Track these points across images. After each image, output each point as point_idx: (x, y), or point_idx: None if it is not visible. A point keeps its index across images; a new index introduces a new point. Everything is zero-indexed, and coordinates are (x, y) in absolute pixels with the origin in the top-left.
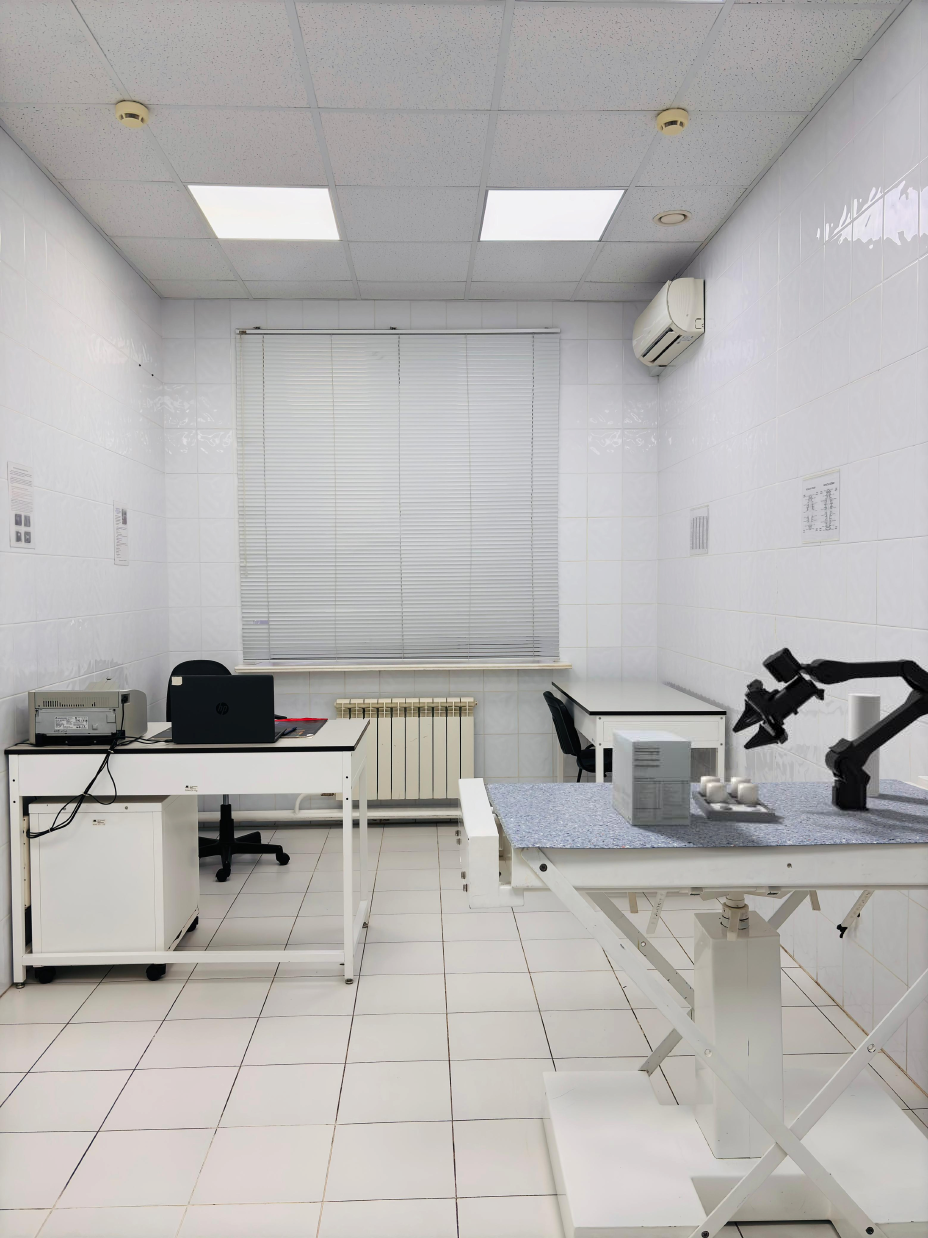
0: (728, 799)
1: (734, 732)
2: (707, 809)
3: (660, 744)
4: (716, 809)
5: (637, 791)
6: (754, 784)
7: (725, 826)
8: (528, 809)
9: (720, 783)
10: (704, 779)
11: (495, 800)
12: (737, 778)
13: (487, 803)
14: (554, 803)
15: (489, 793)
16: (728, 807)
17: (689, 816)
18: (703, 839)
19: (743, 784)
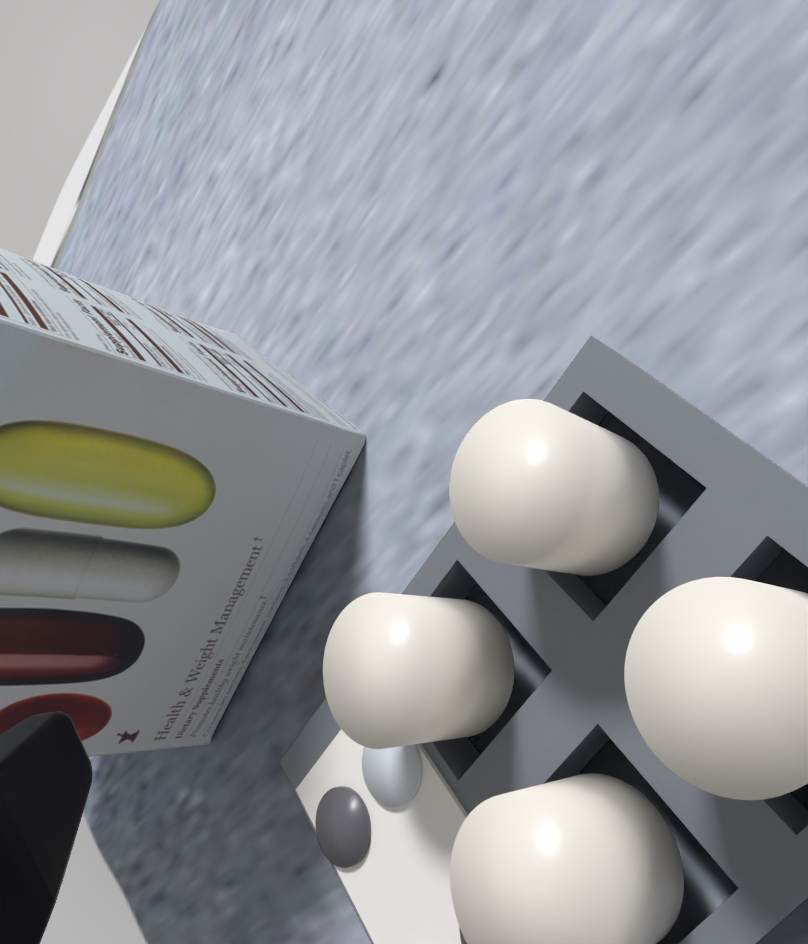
0: (572, 685)
1: (71, 769)
2: (302, 732)
3: None
4: (302, 788)
5: None
6: (599, 937)
7: (286, 882)
8: (99, 264)
9: (414, 669)
10: (450, 485)
11: (113, 130)
12: (714, 646)
13: (89, 162)
14: (168, 214)
15: (147, 33)
16: (354, 833)
17: (175, 746)
18: (127, 892)
19: (517, 842)
